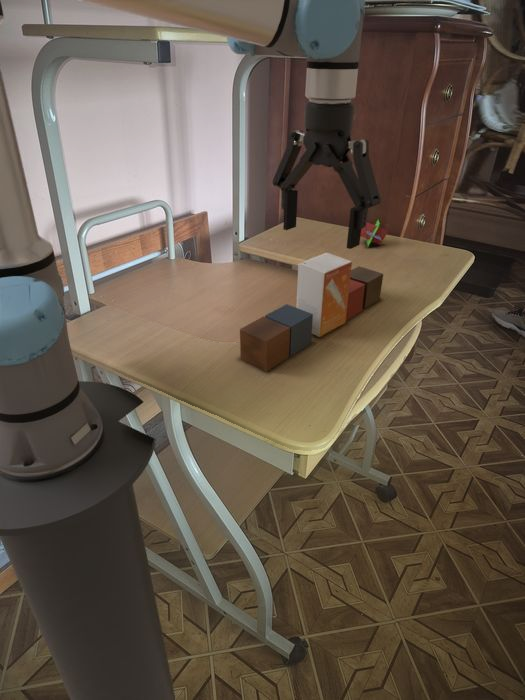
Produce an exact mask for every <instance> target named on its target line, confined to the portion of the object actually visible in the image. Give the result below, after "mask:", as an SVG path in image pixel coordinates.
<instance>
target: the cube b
mask: <svg viewBox="0 0 525 700" xmlns="http://www.w3.org/2000/svg"><path fill="white" fill-rule="evenodd" d="M264 317H266V318H268V319H271V320H273V321H276V322H278V323H280V324H283V325H285V326H287V327H290V344H289V357H292V356H293V355H295V354H296V353H298V352H300V351H301V350H303V349H304V348H306V347H307V346H310V345H311V344H312V337H313V334H312V320H313V314H311V313H308V312H306V311H303V310H301V309H298V308H296V307H295V306H293V305H290V304H288V303H286V304H284V305H282V306H280V307H278V308H277V309H274V310H273V311H271V312H269V313H267V314H265V315H264Z"/></svg>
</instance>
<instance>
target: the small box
mask: <svg viewBox="0 0 525 700" xmlns="http://www.w3.org/2000/svg"><path fill="white" fill-rule="evenodd" d="M352 265H353V261H352V260H349V259H346V258H343V257H341V256H338V255H335V254H332V253H330V252H324V253H322V254H319V255H317V256H314V257H310V258H309V259H307V260H304V261H302V262H299V263H298V264H297V283H296V284H297V285H296V304H295V305H296V308H298V309H301V310H303V311H306V312H308V313H311V314H313V320H312V335H313V336H316V337H318V338H321V337H323V336H325V335H326V334H328V333H330V332H331V331H333V330H335V329H337V328H338V327H341V326H342V325H345V324H346V322H347V321H346V312H347V302H348V294H349V284H350V275H351V270H352Z"/></svg>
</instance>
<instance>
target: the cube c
mask: <svg viewBox="0 0 525 700" xmlns="http://www.w3.org/2000/svg"><path fill="white" fill-rule="evenodd" d="M364 289H365V284H363V283H360V282H357V281H354V280H351V279H350V284H349V294H348V302H347V312H346V321H345V322H347V321H349V320H350V319H352V318H354V317H356V315H358V314H360V313H361V312H363V308H362V306H363V298H364Z"/></svg>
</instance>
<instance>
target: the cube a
mask: <svg viewBox="0 0 525 700" xmlns="http://www.w3.org/2000/svg"><path fill="white" fill-rule="evenodd" d="M239 340H240V341H239V350H240V351H239V352H240V360H241V361H244V362H246V363H248V364H250V365H251V366H254V367H256V368H257V369H260V370H261V371H264V372H266V373H267V372H269V371H271V370H272V369H274V368H275V367H276V366H278V365H279V364H281V363H282V362H285V361H286V360H287V359H289V358H290V356H289V344H290V327H287V326H285V325H283V324H280V323H278V322H276V321H273V320H271V319H268V318H266V317H265V315H264V316H262V317H259V318H258V319H256V320H254V321H252V322H251V323H250V322H249V324H247V325H245V326H243V327H241V328H239Z"/></svg>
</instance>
